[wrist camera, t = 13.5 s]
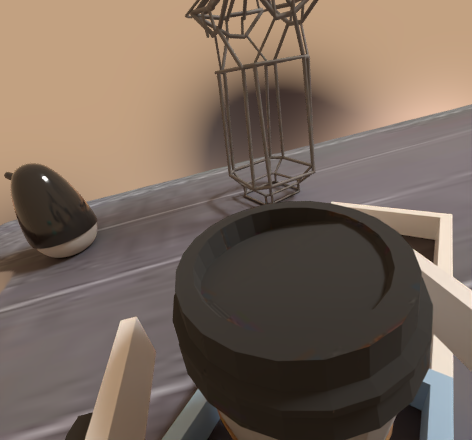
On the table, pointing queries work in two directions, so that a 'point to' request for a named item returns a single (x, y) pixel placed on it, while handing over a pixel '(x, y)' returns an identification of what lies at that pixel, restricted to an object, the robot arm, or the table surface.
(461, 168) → the table surface
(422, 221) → the gap frame
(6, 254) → the table surface
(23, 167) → the pump dispenser
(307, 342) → the coffee cup
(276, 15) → the geometric lantern
